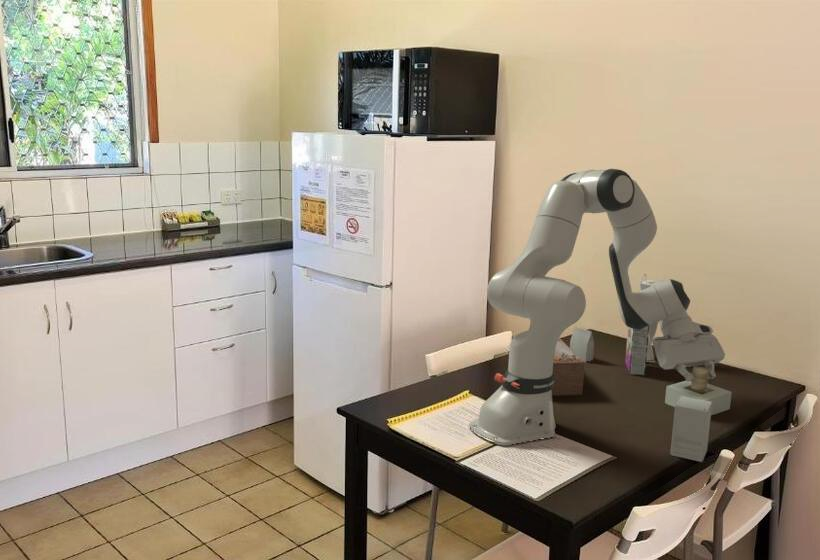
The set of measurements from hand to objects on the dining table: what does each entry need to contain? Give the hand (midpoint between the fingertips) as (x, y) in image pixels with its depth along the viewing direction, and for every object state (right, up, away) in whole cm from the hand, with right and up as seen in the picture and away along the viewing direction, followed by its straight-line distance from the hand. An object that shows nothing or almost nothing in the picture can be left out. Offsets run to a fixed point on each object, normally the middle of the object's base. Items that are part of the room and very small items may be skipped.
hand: (701, 379), depth 200 cm
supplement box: (-14, -14, -26) cm, 33 cm away
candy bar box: (-9, -1, +31) cm, 32 cm away
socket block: (0, -8, +2) cm, 8 cm away
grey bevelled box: (-24, +1, +40) cm, 46 cm away
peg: (0, -8, +2) cm, 8 cm away
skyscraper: (-3, +1, +42) cm, 42 cm away
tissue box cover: (-39, -3, +21) cm, 44 cm away
